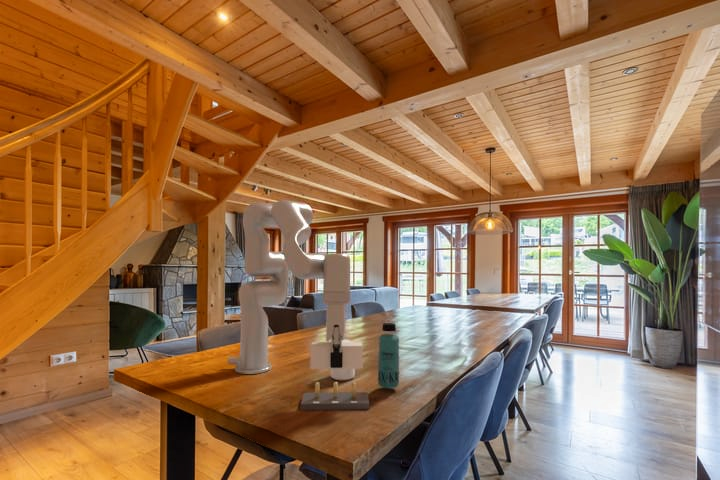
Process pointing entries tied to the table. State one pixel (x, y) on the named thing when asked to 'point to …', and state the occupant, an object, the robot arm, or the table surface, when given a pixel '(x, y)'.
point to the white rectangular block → (322, 354)
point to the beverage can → (343, 371)
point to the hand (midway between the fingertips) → (336, 363)
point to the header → (335, 399)
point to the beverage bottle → (388, 358)
